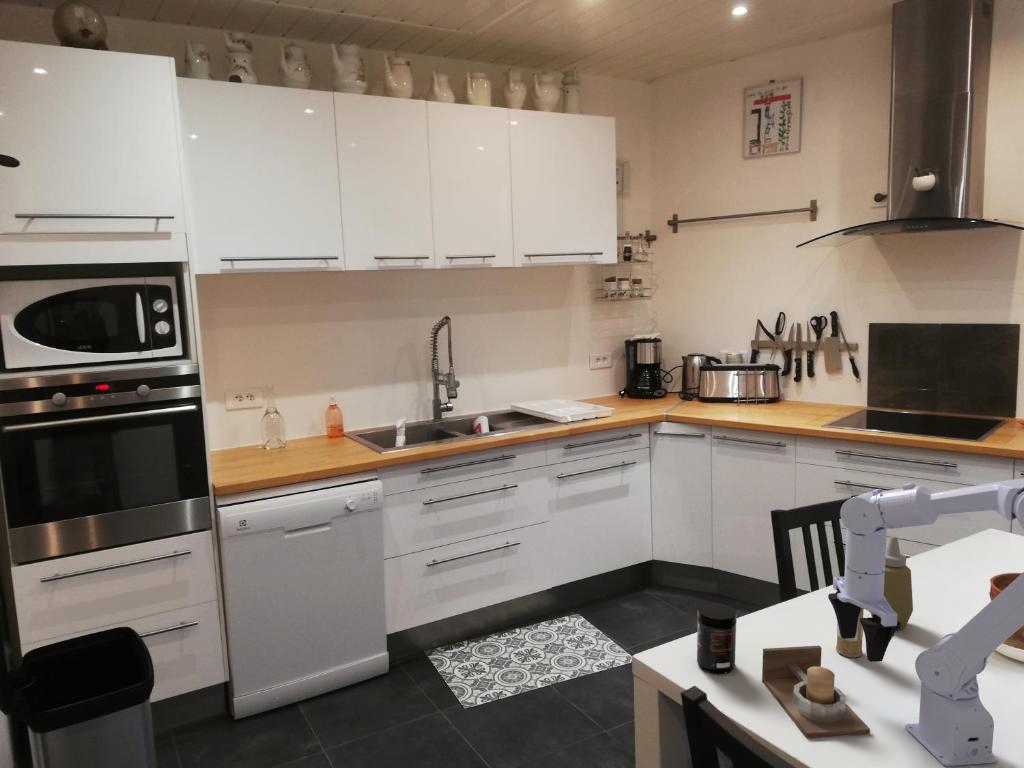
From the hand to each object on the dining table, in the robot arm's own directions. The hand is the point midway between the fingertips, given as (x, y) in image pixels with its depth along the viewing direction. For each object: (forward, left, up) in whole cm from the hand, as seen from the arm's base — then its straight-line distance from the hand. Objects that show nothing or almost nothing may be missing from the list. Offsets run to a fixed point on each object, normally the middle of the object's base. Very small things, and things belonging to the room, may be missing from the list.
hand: (860, 648), depth 118 cm
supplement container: (+14, +19, -10) cm, 25 cm away
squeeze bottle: (+26, -21, -10) cm, 35 cm away
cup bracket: (0, +8, -9) cm, 12 cm away
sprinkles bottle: (+16, -7, -10) cm, 20 cm away
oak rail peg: (-2, +8, -9) cm, 12 cm away
